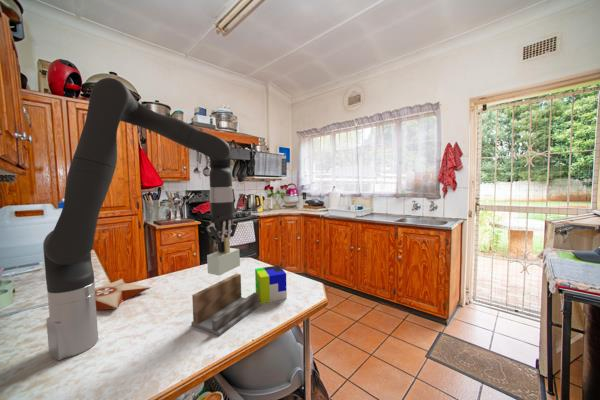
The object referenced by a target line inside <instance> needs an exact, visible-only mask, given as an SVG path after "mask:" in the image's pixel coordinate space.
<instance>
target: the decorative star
mask: <svg viewBox="0 0 600 400" xmlns="http://www.w3.org/2000/svg"><path fill="white" fill-rule="evenodd" d="M151 288H152V287H151V286H144V285H139V284H133V283H132V284H131V283H127V282H125V281H124V279H123V278H120V279H118V280H115V281H112V282H110V283H107V284H105V285H102V286H100V287H95V298H96V311H102V310H109V309H110V310H111V309H118V308H119V306H120V305H121V304H122V303H123V301H122V300H124V301H126V300H128V299H130V298H132V297H134V296H137V295H138V294H141V293H143V292H145V291H147V290H149V289H151ZM125 299H126V300H125Z"/></svg>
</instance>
